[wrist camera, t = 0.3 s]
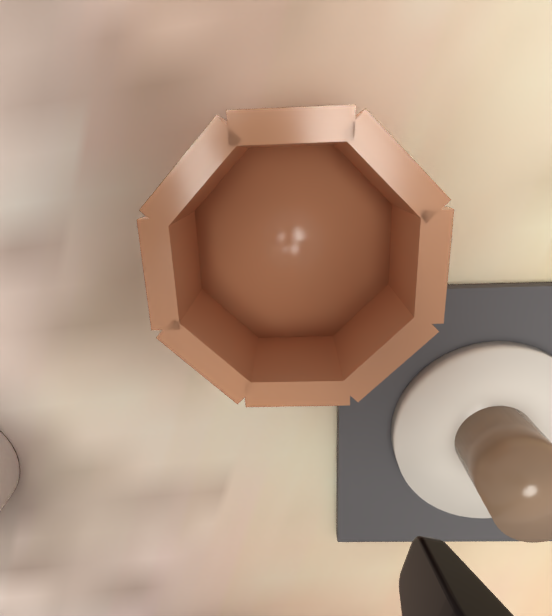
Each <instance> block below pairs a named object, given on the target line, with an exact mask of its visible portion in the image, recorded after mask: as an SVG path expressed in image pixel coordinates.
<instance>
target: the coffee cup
mask: <svg viewBox="0 0 552 616" xmlns="http://www.w3.org/2000/svg"><path fill="white" fill-rule="evenodd" d="M19 473H20V469H19V462H18V458H17V455H16V453H15V451H14V449H13V447H12V445H11V444H10V442H9V441H8V439H7V438H6V437H5V436H4V435H3V434H2V433H1V432H0V511H1V509H2V508H3V507H4V505H5V504H6V502H7V501H8V499H9V498H10V496H11V495H12V493H13V492H14V490H15V488H16V486H17V484H18V480H19Z"/></svg>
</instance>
